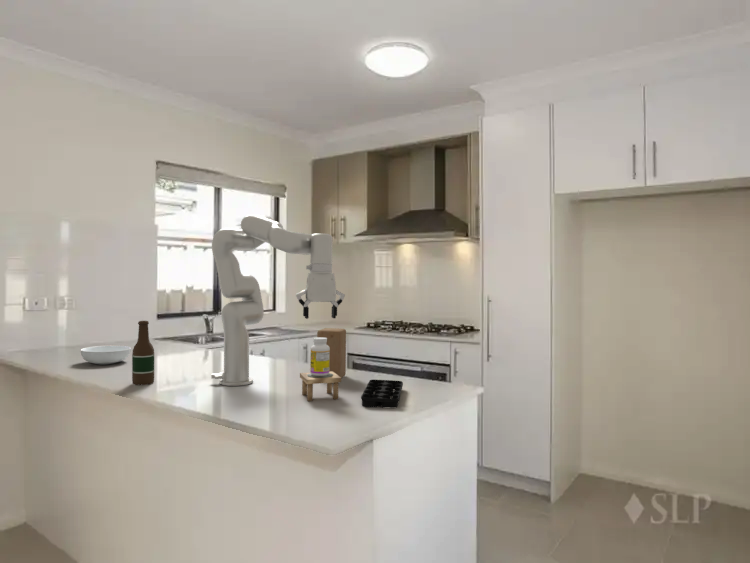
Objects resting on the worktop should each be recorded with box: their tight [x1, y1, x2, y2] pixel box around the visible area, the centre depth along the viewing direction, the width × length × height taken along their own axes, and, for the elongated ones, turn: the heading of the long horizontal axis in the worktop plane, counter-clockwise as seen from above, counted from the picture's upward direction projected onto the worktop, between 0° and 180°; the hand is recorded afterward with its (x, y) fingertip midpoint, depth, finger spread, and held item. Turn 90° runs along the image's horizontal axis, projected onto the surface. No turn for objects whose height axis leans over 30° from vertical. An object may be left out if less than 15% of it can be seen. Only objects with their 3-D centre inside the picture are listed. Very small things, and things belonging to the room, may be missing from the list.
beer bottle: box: [131, 320, 155, 386], centre depth 204 cm, size 8×8×24 cm
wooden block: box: [316, 327, 347, 379], centre depth 219 cm, size 10×10×20 cm
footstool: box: [299, 371, 342, 402], centre depth 186 cm, size 12×12×8 cm
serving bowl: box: [79, 345, 132, 366], centre depth 247 cm, size 21×21×7 cm
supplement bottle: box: [309, 336, 330, 376], centre depth 186 cm, size 7×7×13 cm
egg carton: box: [360, 379, 404, 408], centre depth 186 cm, size 18×30×4 cm, turn 6°
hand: (320, 318), depth 185 cm, fingers open, 9 cm apart
